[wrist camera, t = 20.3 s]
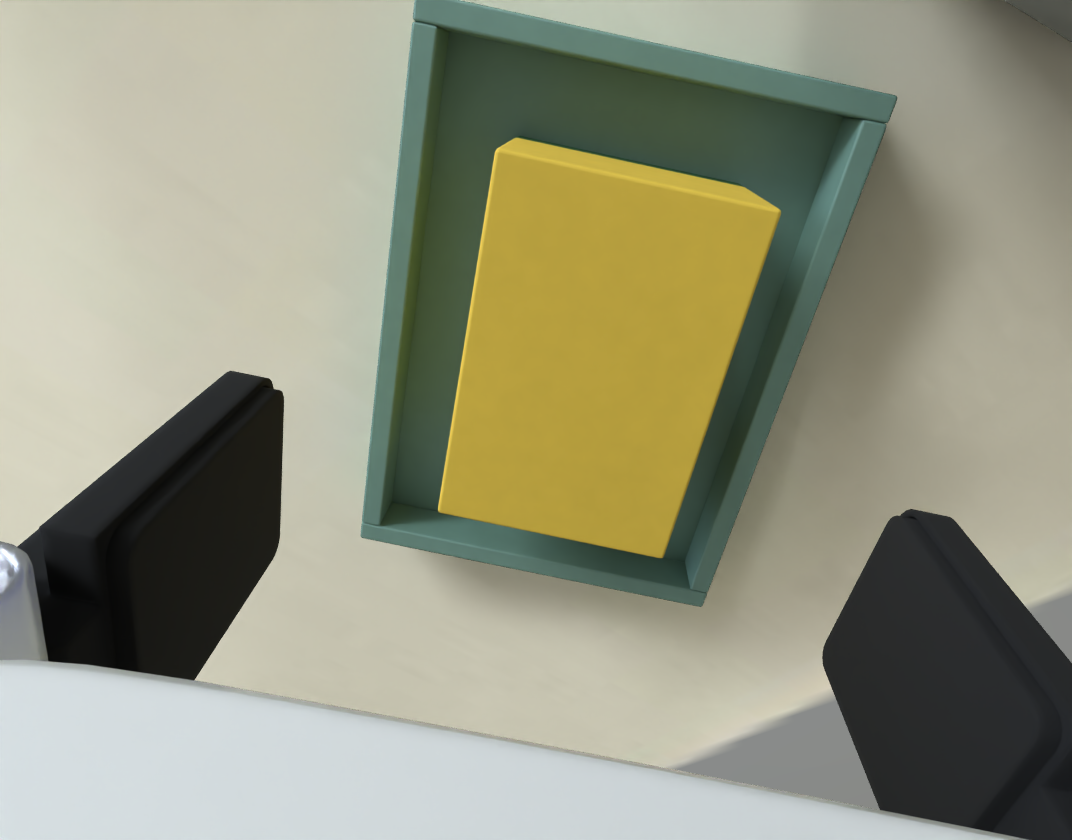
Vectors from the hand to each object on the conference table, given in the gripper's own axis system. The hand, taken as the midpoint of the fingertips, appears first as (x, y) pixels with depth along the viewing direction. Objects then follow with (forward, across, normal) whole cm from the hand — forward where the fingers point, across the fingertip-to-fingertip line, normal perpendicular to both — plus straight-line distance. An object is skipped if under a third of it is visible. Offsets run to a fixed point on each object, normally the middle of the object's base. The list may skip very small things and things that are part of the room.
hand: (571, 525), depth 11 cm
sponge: (+10, 0, 0) cm, 11 cm away
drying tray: (+11, 0, +1) cm, 11 cm away
